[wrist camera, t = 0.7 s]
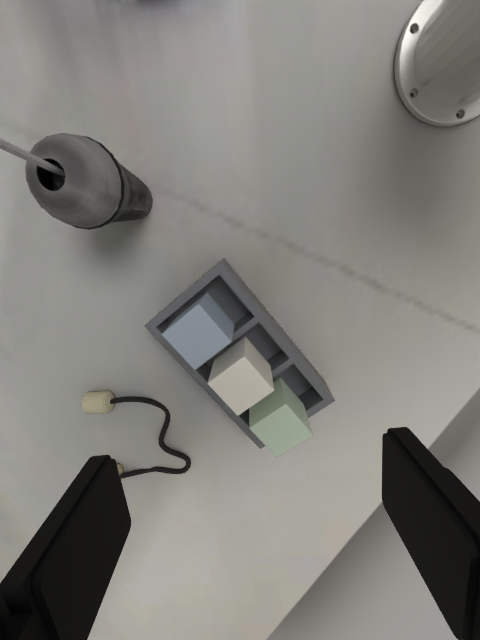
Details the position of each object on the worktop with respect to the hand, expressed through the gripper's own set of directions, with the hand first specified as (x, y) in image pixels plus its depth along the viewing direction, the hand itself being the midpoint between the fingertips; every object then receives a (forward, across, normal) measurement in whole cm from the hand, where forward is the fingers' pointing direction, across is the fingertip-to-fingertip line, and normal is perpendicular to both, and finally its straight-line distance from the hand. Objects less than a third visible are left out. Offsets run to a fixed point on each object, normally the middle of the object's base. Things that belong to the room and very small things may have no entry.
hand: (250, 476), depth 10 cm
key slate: (+25, +5, +1) cm, 26 cm away
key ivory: (+25, +1, +6) cm, 26 cm away
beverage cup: (+30, +12, -14) cm, 35 cm away
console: (+30, +1, +6) cm, 30 cm away
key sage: (+25, -3, +12) cm, 28 cm away
